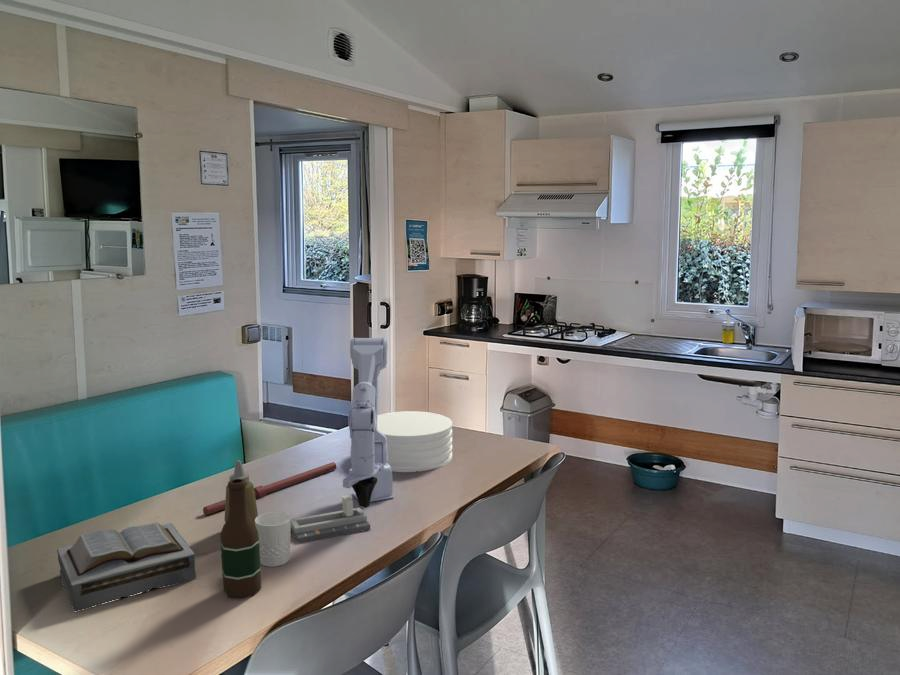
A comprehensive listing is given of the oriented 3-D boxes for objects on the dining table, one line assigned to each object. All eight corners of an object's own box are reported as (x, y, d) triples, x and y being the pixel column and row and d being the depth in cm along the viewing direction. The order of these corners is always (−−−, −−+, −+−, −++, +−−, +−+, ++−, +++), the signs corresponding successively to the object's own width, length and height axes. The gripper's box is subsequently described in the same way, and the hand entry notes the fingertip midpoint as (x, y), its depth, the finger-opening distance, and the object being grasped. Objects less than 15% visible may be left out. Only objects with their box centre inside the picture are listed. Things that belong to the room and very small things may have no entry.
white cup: (283, 569, 166) (282, 527, 164) (250, 566, 167) (248, 524, 166) (297, 554, 173) (296, 513, 172) (266, 551, 175) (264, 510, 173)
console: (356, 513, 196) (356, 503, 196) (370, 529, 187) (370, 519, 186) (287, 525, 189) (287, 515, 189) (298, 542, 179) (298, 532, 179)
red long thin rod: (208, 518, 194) (208, 507, 194) (201, 515, 196) (201, 504, 196) (338, 471, 229) (337, 461, 228) (331, 469, 231) (330, 459, 230)
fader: (351, 515, 192) (351, 495, 191) (355, 520, 189) (355, 499, 188) (340, 517, 191) (339, 496, 190) (344, 522, 187) (343, 501, 186)
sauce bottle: (227, 582, 160) (221, 474, 156) (264, 580, 161) (259, 473, 157) (219, 600, 153) (212, 488, 149) (258, 599, 153) (253, 487, 149)
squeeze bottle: (265, 526, 188) (262, 457, 185) (246, 540, 181) (243, 468, 178) (237, 522, 191) (234, 454, 188) (218, 535, 183) (214, 464, 180)
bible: (60, 567, 168) (57, 525, 166) (188, 545, 179) (185, 505, 177) (54, 618, 147) (49, 571, 145) (199, 590, 158) (196, 545, 156)
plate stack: (402, 439, 260) (402, 406, 258) (469, 454, 244) (469, 420, 242) (346, 460, 238) (345, 425, 236) (415, 479, 222) (415, 441, 220)
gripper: (366, 444, 197) (367, 493, 199) (332, 460, 184) (333, 512, 187) (389, 448, 193) (390, 498, 196) (355, 465, 181) (357, 518, 183)
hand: (364, 506), depth 191 cm, fingers closed
